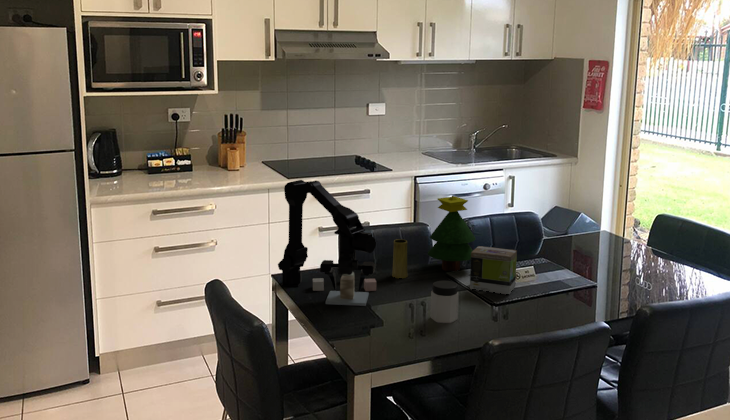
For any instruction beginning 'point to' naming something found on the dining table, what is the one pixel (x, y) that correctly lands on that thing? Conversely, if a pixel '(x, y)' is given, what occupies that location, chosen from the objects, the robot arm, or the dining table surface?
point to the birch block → (347, 287)
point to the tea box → (493, 269)
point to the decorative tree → (452, 236)
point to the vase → (400, 259)
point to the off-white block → (318, 284)
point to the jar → (444, 302)
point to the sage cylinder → (349, 275)
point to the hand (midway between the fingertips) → (347, 290)
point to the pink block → (370, 284)
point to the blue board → (358, 299)
